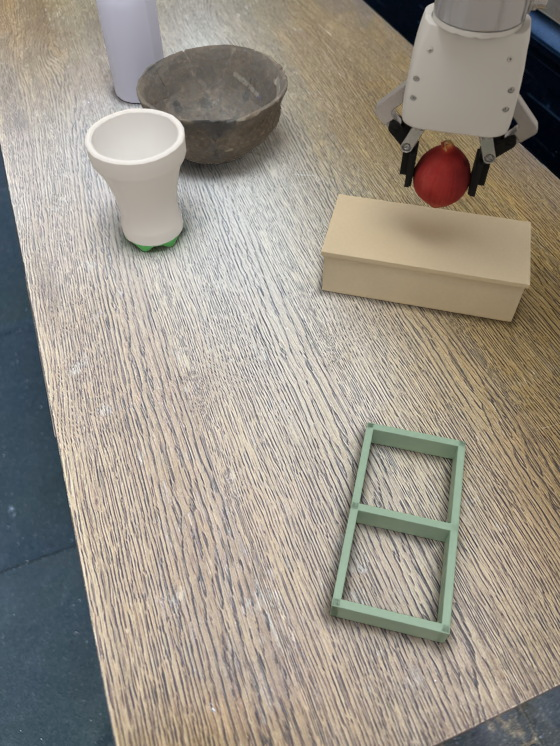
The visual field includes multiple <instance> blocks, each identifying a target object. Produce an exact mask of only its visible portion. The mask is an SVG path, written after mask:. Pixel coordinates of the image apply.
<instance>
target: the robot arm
mask: <svg viewBox="0 0 560 746" xmlns="http://www.w3.org/2000/svg"><path fill="white" fill-rule="evenodd" d="M548 3H549V0H434V2H432V3H430V4H428V5H426V7H425V8H424V11H423V13H422V16H421V18H420V22H419V25H418V28H417V32H416V36H415V39H414V43H413V48H412V51H411V52H412V53H411V57H410V62H409V67H408V72H407V75H406V76H407V77H406V79H405V80H404V81H402V82H401V83H399V85H397V86H396V87H395V88H393V89H391V91H389V92H387V94H385V95H384V96H383V97H381V98H380V99H379V100H378V101H377V102H376V104H375V107H374V110H373V111H374V114H375V116H376V117H377V118H378V120H379V121H380V122H381V123H382V124H383V125H384V126H386V127H387V130H388V133H390V135H391V136H392V137H393V138H394V139H395V141H396V142H397V143H398V144H399V145H400V150H401V152H402V156H401V162H400V167H399V172H398V173H399V175H402V176H405V178H404V183H403V188H410V187H412V184H413V173H414V168H415V166H416V164H417V163H416V162H417V158H418V151H419V146H420V139H421V137H422V135H423V134H424V133H425V132H426V131H431V132H439V133H446V134H455V135H462V136H470V137H477V138H478V139H479V148H477V149H476V153H475V155H474V160H473V164H472V166H471V167H472V168H471V181H470V184H469V187H468V189H467V195H468V196H469V197H473V198H475V197H476V194H477V190H478V187H479V186H482V187H484V186H485V185H486V181H487V177H488V173H489V170H490V167H491V164H493V163H494V162H495V161H496V159H497V158H498V157H500V156H502V155H503V154H505V153H507V152H509V151H511V150H512V149H514V148H515V147H516V145H517V144H519V143H523V142H524V141H526V140H528V139H530V138H531V137H533V136H535V135H536V134H538V130H539V121H538V120H537V118H536V116H535V115H534V113H533V112H532V110H531V109H530V108H529V106H528V104H527V103H526V101H525V100H524V98H523V97H522V95H521V94H520V90H521V87H522V83H523V78H524V77H523V76H524V73H525V67H526V62H527V55H528V49H529V45H530V41H531V31H532V17H531V16H530V14H531V11H537V10H544V11H545V10H546V9H547V7H548ZM400 105H402V106H401V107H402V108H401V115H400V114H399V113H397V111H396V110H395V109H397V108H398V107H400ZM512 120H515V122H516V124H515V125H514V126H513V127H512V128H511V127H510V126H511V124H512Z"/></svg>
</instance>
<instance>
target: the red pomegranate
mask: <svg viewBox="0 0 560 746" xmlns="http://www.w3.org/2000/svg"><path fill="white" fill-rule="evenodd" d="M471 171H472V168H471V163H470V161H469V159H468V157H467V156H466V154H465V153H464V152H463V151H462V150H461V148H459V147H458V146H456V145H455V144H454V142H453V141H452V140H451V139H445V140H443V141H440V144H439V145H436V146H433V147H431V148H430V149H428V150H427V151H425V152H424V153H423V155H422V156H420V158H419V159H418V161H417V163H415V168H414V173H413V178H412V184H413V185H412V186H413V189H414V191H415V193H416V195H417V196H418V197H419V198H420V199H421V200H422V201H423V203H426V204H427V205H429V207H431V208H438V209H441V208H445V207H449V206H451V205H453V204H455V203H457V202H458V201H460V200H461V198H462V197H463V196H464V195H465V194H466V192H468V188H469V184H470V181H471Z"/></svg>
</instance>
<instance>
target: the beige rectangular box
mask: <svg viewBox="0 0 560 746" xmlns="http://www.w3.org/2000/svg"><path fill="white" fill-rule="evenodd" d="M531 250H532V222H531V221H527V220H520V219H513V218H507V217H506V218H505V217H500V216H492V215H485V214H478V213H471V212H465V211H458V210H451V209H444V208H432V207H431V206H424V205H416V204H410V203H405V202H404V203H403V202H397V201H389V200H382V199H376V198H369V197H363V196H356V195H349V194H342V193H338V195H337V198H336V200H335V205H334V209H333V211H332V214H331V218H330V221H329V224H328V228H327V231H326V234H325V237H324V241H323V243H322V247H321V250H320V256H323V263H322V264H323V265H322V278H321V279H322V280H321V281H322V283H321V291H326V292H330V293H338V294H344V295H349V296H355V297H360V298H367V299H372V300H377V301H378V300H379V301H383V302H384V301H385V302H390V303H395V304H402V305H407V306H414V307H419V308H425V309H431V310H438V311H443V312H449V313H454V314H455V313H456V314H460V315H467V316H471V317H472V316H473V317H479V318H484V319H490V320H495V321H496V320H497V321H503V322H508V323H511V322H512V321H513V318H514V316H515V313H516V311H517V309H518V306H519V304H520V302H521V300H522V299H521V298H522V297H523V295H524V292H525V289H529V288H530V287H531V264H532V263H531V262H532V261H531V259H532V258H531V254H532V251H531Z"/></svg>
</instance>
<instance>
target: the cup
mask: <svg viewBox="0 0 560 746" xmlns="http://www.w3.org/2000/svg"><path fill="white" fill-rule="evenodd" d="M84 147H85V150H86V153H87V156H88V159H89V160H88V161H89V162H90V164H91V166H92V168H93V169H94V171H96V173H97V174H98V175H99V176H100V177H102V178H103V180H104V182H105V183H106V184H107V186H108V188H109V190H110V191H111V192H112V195H113V196H114V198H115V201H116V203H117V207H118V209H119V212H120V225H121V229H122V232H123V235H124V238H125V239H126V240H127V241H129V242H130V243H132V244H134V245H135V246H136V247H138V249H140V250H141V251H142V252H148V251H149V252H150V251H151V250H152V249H153V248H155V247H159V246H164V247H167V248H170V247H173V246H175V243H176V241H177V239H178V238H179V236H180V234H181V232H182V231H183V229H184V220H183V214H182V213H183V212H182V210H181V208H180V205H179V201H178V184H179V183H178V182H179V177H180V170H181V167H182V164H183V162H184V161H185V159H184V158H185V154H186V143H185V133H184V127H183V126H182V124H181V122H180V121H179V120H178V119H177V118H175V117H174V116H173V115H171V114H168V113H166V112H163V111H159V110H154V109H143V108H140V107H138V108H127V109H126V108H125V109H123V110H118V111H115V112H113V113H110V114H107V115H104V117H102V118H100V119H98V120H97V121H96V122H94V123H93V124H92V125H91V126H90V127H89V128H88V129H87V131H86V133H85V135H84Z"/></svg>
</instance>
